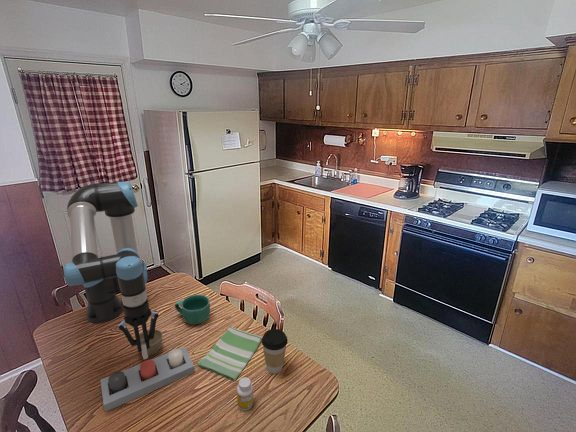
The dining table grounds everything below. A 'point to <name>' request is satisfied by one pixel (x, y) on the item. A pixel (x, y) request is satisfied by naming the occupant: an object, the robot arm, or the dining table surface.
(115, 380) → the button black
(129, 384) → the panel
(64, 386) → the dining table surface
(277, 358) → the coffee cup
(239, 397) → the supplement bottle
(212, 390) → the dining table surface
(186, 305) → the mug
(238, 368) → the dish towel
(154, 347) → the flower pot
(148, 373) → the button red
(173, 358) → the button ivory
